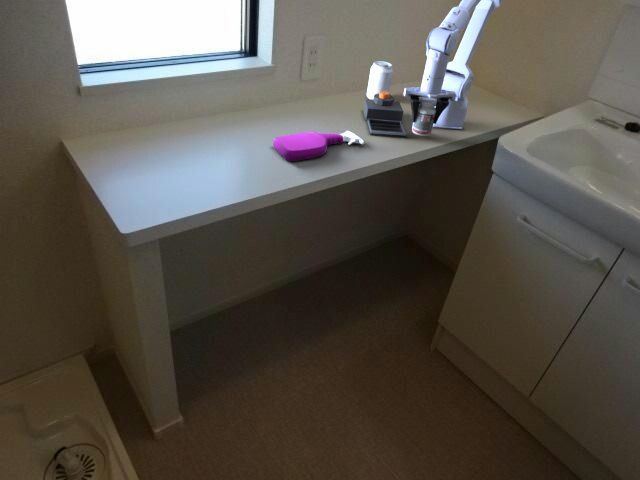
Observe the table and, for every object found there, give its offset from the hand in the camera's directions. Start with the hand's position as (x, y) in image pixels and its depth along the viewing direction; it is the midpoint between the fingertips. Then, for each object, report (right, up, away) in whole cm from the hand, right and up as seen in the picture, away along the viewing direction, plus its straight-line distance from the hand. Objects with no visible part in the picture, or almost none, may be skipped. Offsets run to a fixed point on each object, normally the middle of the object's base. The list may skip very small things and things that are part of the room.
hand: (423, 121), depth 142 cm
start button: (-10, +10, +10) cm, 17 cm away
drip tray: (-10, -2, +4) cm, 11 cm away
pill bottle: (0, -3, +2) cm, 4 cm away
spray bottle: (-30, -10, -9) cm, 33 cm away
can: (-11, +14, +24) cm, 30 cm away
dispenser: (-11, +4, +12) cm, 16 cm away
